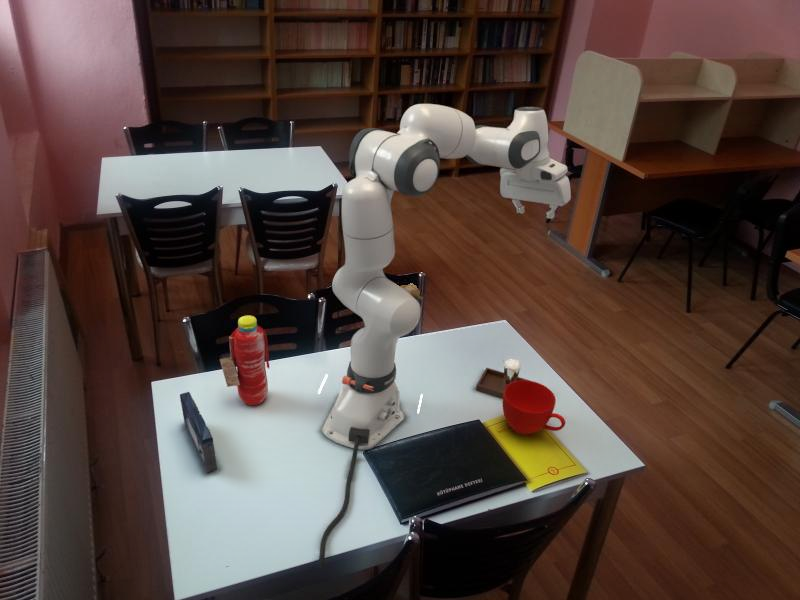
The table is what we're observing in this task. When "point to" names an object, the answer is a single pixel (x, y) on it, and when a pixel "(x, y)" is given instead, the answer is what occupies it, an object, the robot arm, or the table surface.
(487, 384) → the tray
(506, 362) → the milkshake
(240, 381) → the water bottle
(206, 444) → the vhs cassette tape
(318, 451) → the table surface
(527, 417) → the ceramic cup
